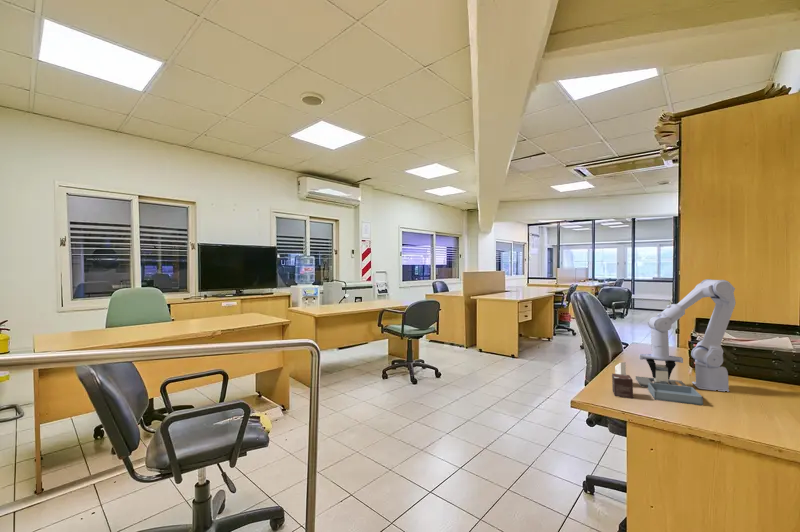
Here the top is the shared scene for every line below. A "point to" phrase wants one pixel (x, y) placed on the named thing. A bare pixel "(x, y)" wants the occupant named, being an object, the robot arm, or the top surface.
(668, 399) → the tray
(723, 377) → the robot arm
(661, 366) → the tan rectangular block
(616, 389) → the box
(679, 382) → the frame
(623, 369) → the white wedge bracket
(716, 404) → the top surface
